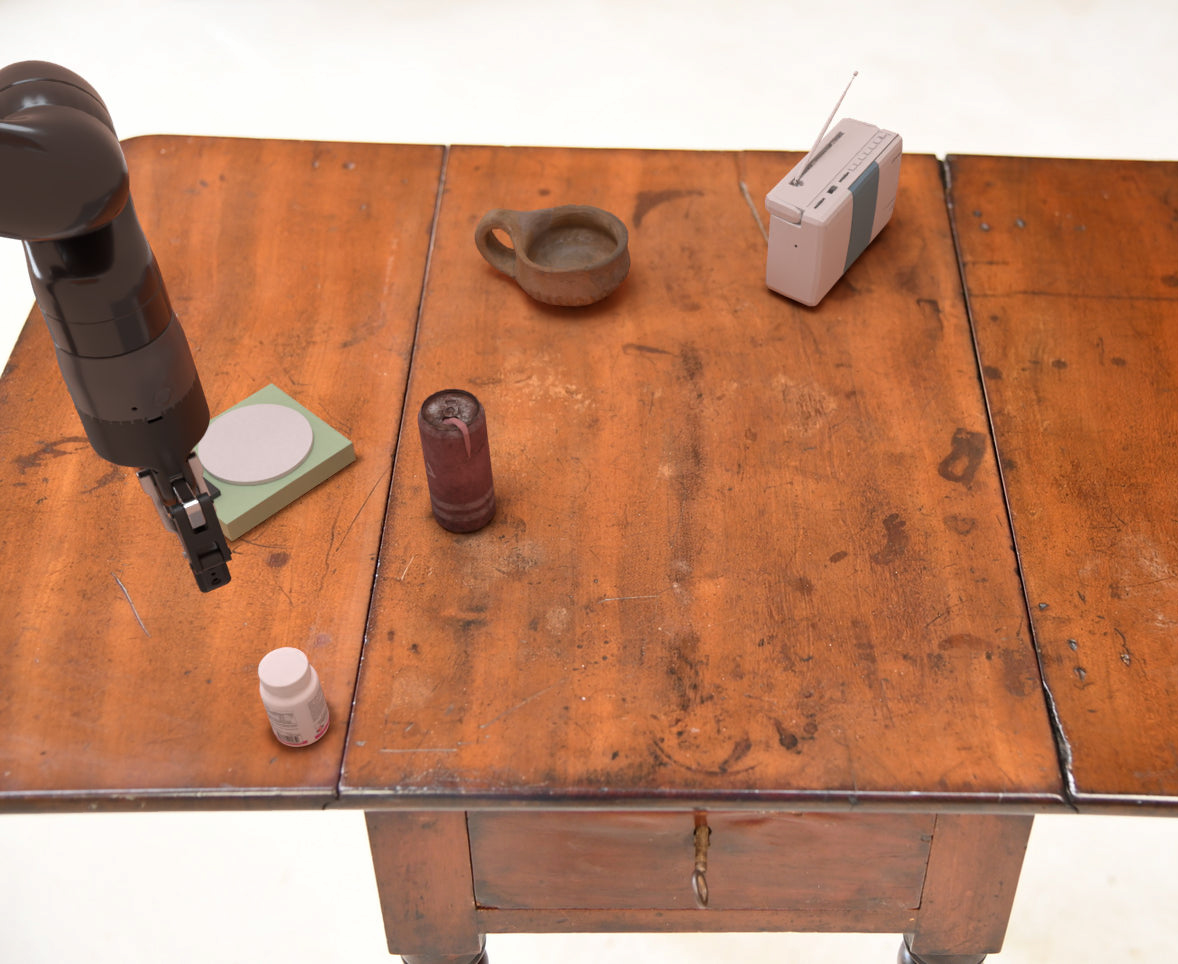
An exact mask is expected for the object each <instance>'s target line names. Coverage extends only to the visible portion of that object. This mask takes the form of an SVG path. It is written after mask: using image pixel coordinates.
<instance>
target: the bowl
mask: <svg viewBox="0 0 1178 964" xmlns="http://www.w3.org/2000/svg"><path fill="white" fill-rule="evenodd" d="M493 230H501V231H502V232H504V233H506V235H508V237H509V239H510V241H511V243H512V247H513V248H511V247H508V246H507V245H505V244H504V243H502V241H500V240H499V239H498V237H497V236H496V235H495V233H494V231H493ZM474 243H475V245H476V246H475V247H476V249H477V250H478V252H479V254H480V255H481V256H482V258H483V259H484V261H486V262H487V263H488V264H489V265H490V266H492V267H493V268H494V269H495V270H497V271H498V272H501V273H503V274H504V275H507V276H508V277H509V278H512V279H513V280H514V281H515V282H516V283H517V284H518V286H520V287H521V289H522V290H523V291H524V292H525V293H526V294H527V295H529V296H531V298H532V299H534V300H537V301H539V302H541V303H544V304H545V303H546V304H548V305H551V306H565V307H580V306H588V305H592V304H594V303H597V302H598V301H603V300H604V299H605V298H606V297H607V296H610V295H611V294H613V293H614V292H615V290H617V289H619V287H620V285H621V284H622V283H623V282H624V281H625V279H626V278H627V277H628V275H629V273H630V268H631V256H630V255H631V254H630V251H629V247H628V244H629V231H628V228H627V226H626V224H625V223H624V222H623V221H622V220H621V219H620V218H619V217H618V216H617V215H616V214H614V213H612V212H611V211H608V210H604V209H602V208H599V207H596V206H593V205H587V204H579V205H576V204H574V203H568V204H566V205H559V206H554V207H551V208H550V207H549V208H548V207H547V208H539V209H532V210H523V211H522V210H514V209H510V208H509V209H507V208H499V207H498V208H493V209H490V210H488V211H486V213H485V214H484V215H483V216H482V217H481V219H480V220H479V222H478V223H477V224H476V227H475V231H474Z"/></svg>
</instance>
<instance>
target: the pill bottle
mask: <svg viewBox="0 0 1178 964" xmlns="http://www.w3.org/2000/svg"><path fill="white" fill-rule="evenodd" d="M257 674H258V679H259V694H260V697H261V701H262V703H263V704H262V705H263V706H264V709H265V712H266V715H267V718H268V720H269V723H270V726H271V729H272V732H273V734H274V736H275V737H276V739H277V740H278V741H279V743H282V744H283V745H285V746H288V747H292V748H299V747H300V748H301V747H306V746H309V745H312V744H314V743H316V742H317V741H319V740H320V739H322V737H323V736H324V735H325V734H326V733H327V731H328V729H329V726H330V722H331V716H330V715H331V714H330V712H329V707H328V703H327V701H326V697H325V693H324V691H323V688H322V684H321V680H320V678H319V675H318V672H317V671H316V669H315V668H314V666H312V665H311V664H310V661H309V659H308V657H307V655H306V654H305V653H304V652H303V651H302V650H300V649H298V648H295V647H292V646H291V647H290V646H285V647H280V648H276V649H274V650H273V649H272V651H270V652H268V653H267V654H266V655H264V657H262V659H261V661H260V662H259V664H258V667H257Z"/></svg>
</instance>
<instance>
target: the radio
mask: <svg viewBox="0 0 1178 964" xmlns="http://www.w3.org/2000/svg"><path fill="white" fill-rule="evenodd" d="M858 74H859V71H858V70H854V72H853V73H852V75H853V76H852V78H851V80H850V81H849V82H848V85H847V86H846V88H845V90H844V91H843V92H842V94H841V96H840V98H839V100H838V101H837V102H836V103H835V106H834V108H833V110H832V111H831V113H830V115H829V116H828V118H827V120H826V122H825V123H824V125H823V127H822V128H821V131H820V132H819V134H818V136H817V138H816V139H815V141H814V143H813V145H812V146H811V148H810V150H809V151H808V153H807V154H806V155H805V156H804V157H803V158H802V159H800V161H799V162H798V163H797V164H796V165H795V166H794V167H793V168H792V169H790V171H789V172H788V173H787V174H786V175H785V176H784V177H783V178H781V180H780V181H778V183H777V184H776V185H775V186H773V188H772V189H771V190H770V191H769V192H768V193H767V194H766V195H765V199H764V205H765V210H766V211H767V213H769V214H770V216H769V229H768V243H767V255H766V257H767V258H766V268H765V286H766V287H767V289H769V290H772V291H773V292H775V293H777V294H780V295H782V296H784V297H787V298H789V299H791V300H794V301H796V302H798V303H801V304H803V305H804V306H807V307H815V306H817V305H818V304H819V303H820V302H821V301H822V299H824V297H825V296H826V295H827V293H828V292H829V291H830V290H831V289H832V288H833V286H834V285H835V284H836V283H837V282H838V281H839V279H841V277H842V276H843V275H844V274H845V273H846V271H848V269H849V268H850V267H851V266H852V265H853V264H854V262H855V261H856V260H857V259H858V258H859V257H860V256H861V254H862V253H863V252H864V251H865V250H866V248H867V247H868V246H869V245H870V244H871V243H872V242H873V240H874V239H875V238H876V237H877V236H878V235H879V234H880V232H881V231H882V230H883V229H884V227H886V225H888V223H889V222H890V220H891V219H892V216H893V212H894V208H895V203H896V198H897V194H898V188H899V187H898V186H899V179H900V173H901V166H902V156H903V147H904V145H903V144H904V143H903V142H904V141H903V137H902V136H901V135H900V134H899V133H897V132H895V131H891V130H888V129H886V128H882V129H881V128H880V127H878V126H877V125H876V124H872V123H869V122H866V121H862V120H858V119H855V118H851V117H847V118H846V117H845V118H844V117H843V118H841V119H840V120H839V122H838V123H836V124H835V126H834V127H832V128H831V129H830V130H829V131H828V133H827V134H826V135H825V133H826V131H827V130H828V128H829V127H830V124H831V123H832V121H833V119H834V117H835V115H836V113H837V111H838V109H839V108H840V106H841V103H842V101H843V100H844V98H845V96H846V94H847V92H848V90H849V89H850V87H851V86H852V82H853V80H854V79H855V77H857V76H858Z"/></svg>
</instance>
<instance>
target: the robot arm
mask: <svg viewBox="0 0 1178 964" xmlns="http://www.w3.org/2000/svg"><path fill="white" fill-rule="evenodd" d="M121 146H122V145H121V143H120V140H119V137H118V134H117V131H116V128H115V125H114V121H113V119H112V116H111V113H110V111H109V108H108V106H107V104H106V103H105V101H104V99H103V97H102V96H101V95H100V93H99V92H98V91H97V89H96V88H95V87H94V86H93V85H92V84H91V83H89V81H87V79H85V78H84V77H82V76H81V75H79V74H78V73H77V72H75V71H73V70H71V69H69V68H67V67H65V66H64V65H61V64H58V63H55V62H51V61H46V60H38V59H30V60H29V59H28V60H27V59H26V60H21V61H17V62H13V63H10V64H7V65H6V66H4V67H2V68H0V238H3V239H10V240H18V241H21V244H22V248H23V252H24V256H25V262H26V263H25V264H26V268H27V272H28V277H29V280H30V285H31V288H32V292H33V295H34V297H35V300H36V304H37V305H38V308H39V309H40V312H41V314H42V317H43V320H44V322H45V324H46V326H47V327H46V328H47V330H48V332H49V334H50V336H51V340H52V343H53V346H54V351H55V355H56V360H57V364H58V367H59V371H60V373H61V375H62V378H63V381H64V383H65V385H66V387H67V390H68V392H69V395H70V398H71V400H72V402H73V405H74V408H75V410H76V412H77V415H78V417H79V420H80V421H81V424H82V426H83V429H84V431H85V434H86V436H87V439H88V441H89V444H90V446H91V447H92V449H93V450H94V451H95V453H96V454H97V455H98V456H99V457H101V458H102V459H103V460H105V461H107V462H109V463H111V464H114V465H116V466H120V467H125V468H132V470H133V472H134V474H135V476H136V478H137V481H138V482H139V485H140V488H141V489H142V491H143V493H144V494H145V495H147V496H149V497H150V500H151V502H152V504H153V507H154V509H155V512H156V513H157V515H158V519H159V520H160V522H161V524H162V527H163V528H164V529H165V530H166V531H167V532H168V533H171V534H175V536H176V538H177V540H178V543H179V546H180V548H181V550H182V552H181V555H182V557H183V559H184V560H187V562H188V565H189V568H190V570H191V572H192V575H193V578H194V580H195V583H196V586H197V588H198V589H199V591H200V592H201V593H203V594H207V593H210V592H212V591H214V590H217V589H220V588H221V587H225V586H227V585H228V584H230V582H231V581H232V575H231V572H230V569H229V566H228V562H231V561H232V560H233V556H232V555H233V552H232V550H231V548H230V547H229V546H228V543H227V540H226V536H225V535H224V534H223V531H222V529H221V526H220V523H219V520H218V517H217V514H216V512H217V510H216V507H215V504H214V500H213V498H212V496H211V495H210V493H209V491H208V488H207V486H206V484H205V481H204V479H203V473H204V469H203V467H202V465H201V462H200V460H199V458H198V456H197V454H196V452H195V450H193V448H194V447H195V446H196V445H197V444H198V443H199V442H200V441H201V439H202V438H203V437H204V435H205V433H206V431H207V429H208V426H209V422H210V420H211V411H210V407H209V405H208V400H207V397H206V394H205V391H204V388H203V385H202V382H201V379H200V375H199V373H198V370H197V367H196V363H195V361H194V357H193V354H192V351H191V348H190V344H189V342H188V338H187V336H186V332H185V331H184V328H183V326H182V324H181V322H180V320H179V319H178V316H177V314H176V312H175V310H174V308H173V306H172V302H171V298H170V295H169V294H168V293H169V292H168V290H167V286H166V284H165V281H164V277H163V274H162V271H161V268H160V266H159V263H158V260H157V258H156V256H155V255H156V254H155V253H154V251H153V249H152V247H151V244H150V242H149V240H148V238H147V237H146V234H145V231H144V230H143V228H142V227H143V226H142V225H141V222H140V220H139V217H138V214H137V211H136V208H135V204H134V203H135V202H134V200H133V196H132V192H131V188H130V185H131V184H130V170H129V167H128V163H127V161H126V157H125V154H124V152H123V149H122V147H121ZM196 487H197V490H198V492H199V495H196ZM195 495H196V497H195Z"/></svg>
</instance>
